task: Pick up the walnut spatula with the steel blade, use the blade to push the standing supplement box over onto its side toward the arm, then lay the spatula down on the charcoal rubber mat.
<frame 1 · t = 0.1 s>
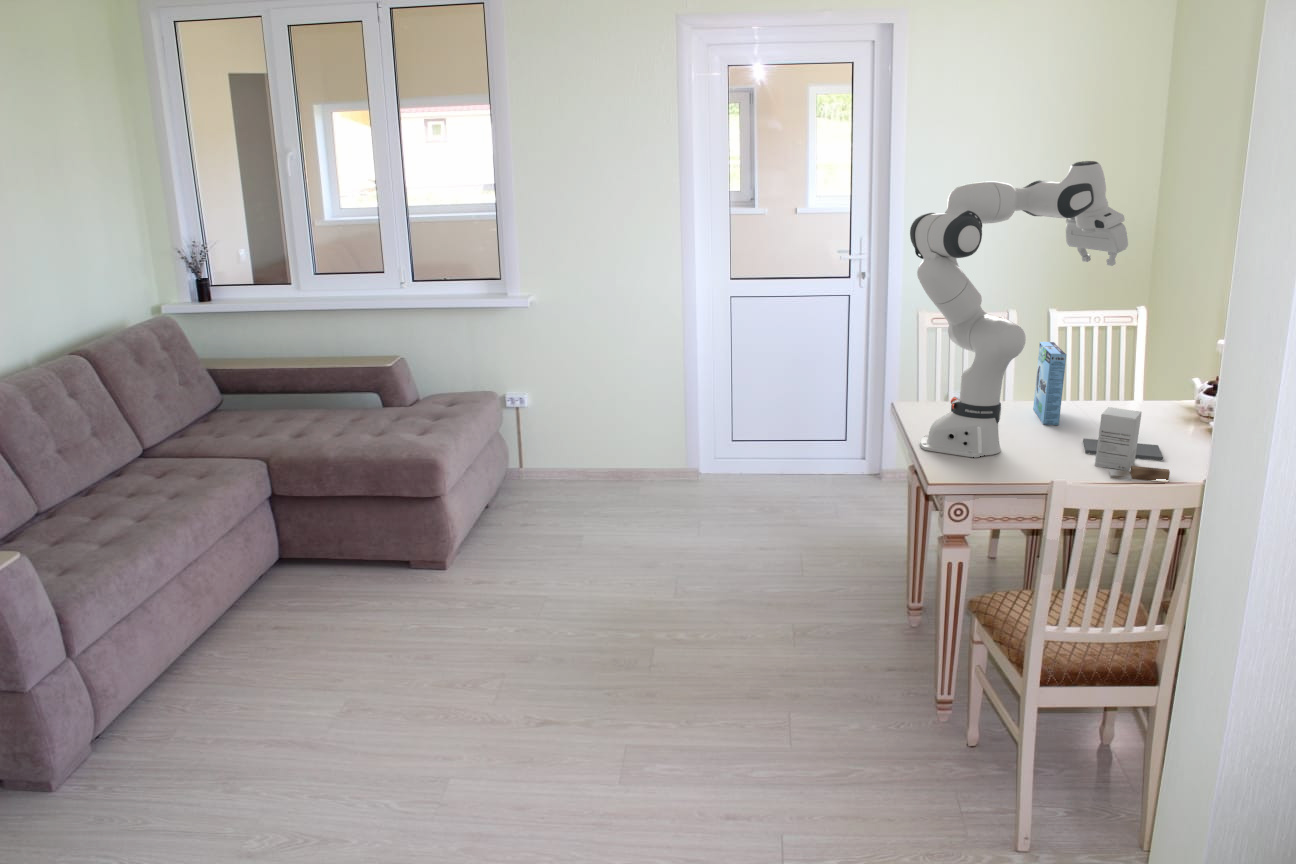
hand: (1098, 263, 285), 52 cm above the table, tool tilted 20°, fingers open, 8 cm apart
gum box: (1045, 417, 320), on the table
tool mat: (1121, 450, 286), on the table
supplement box: (1114, 465, 274), on the table
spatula: (1138, 478, 263), on the table
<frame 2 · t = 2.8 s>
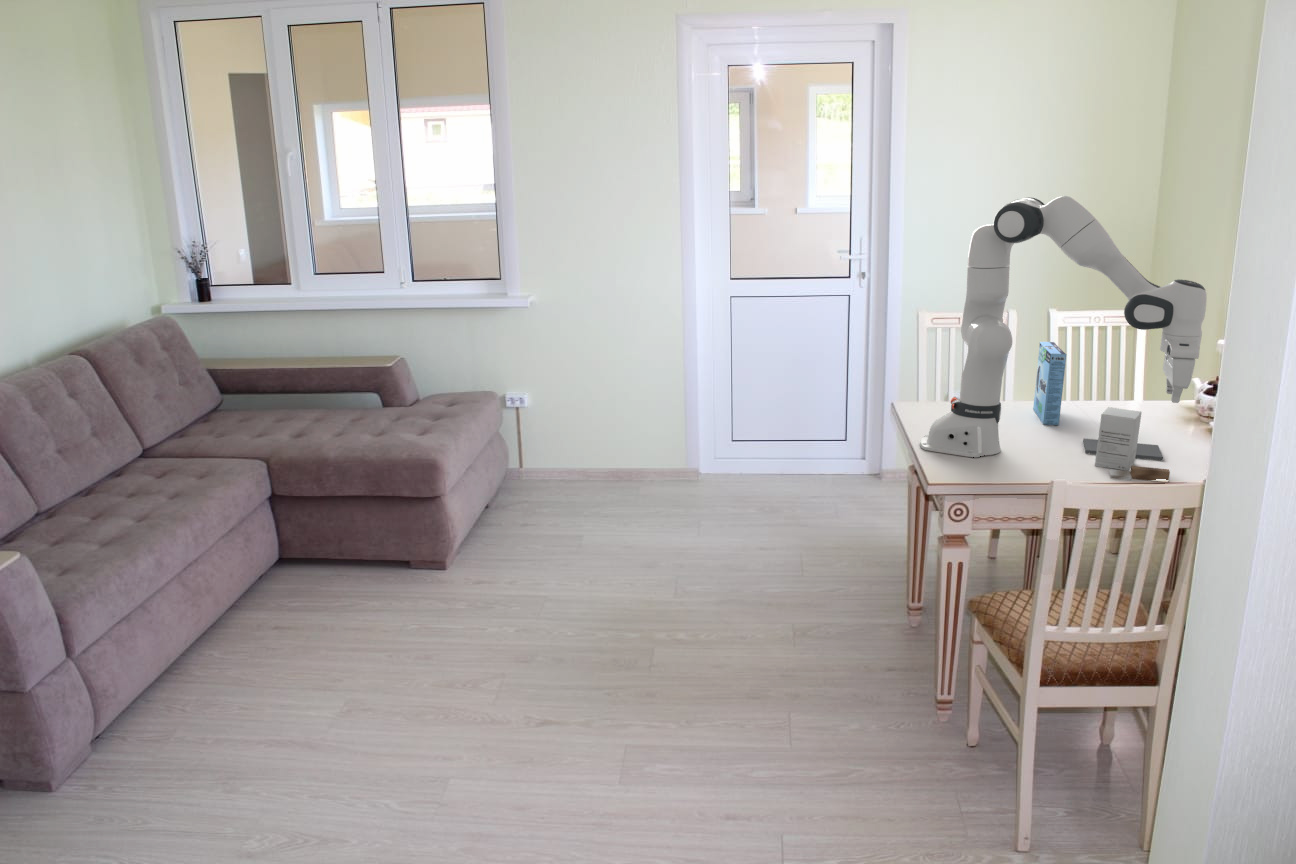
hand: (1172, 397, 255), 22 cm above the table, tool pointing down, fingers open, 8 cm apart
nothing on the table moved.
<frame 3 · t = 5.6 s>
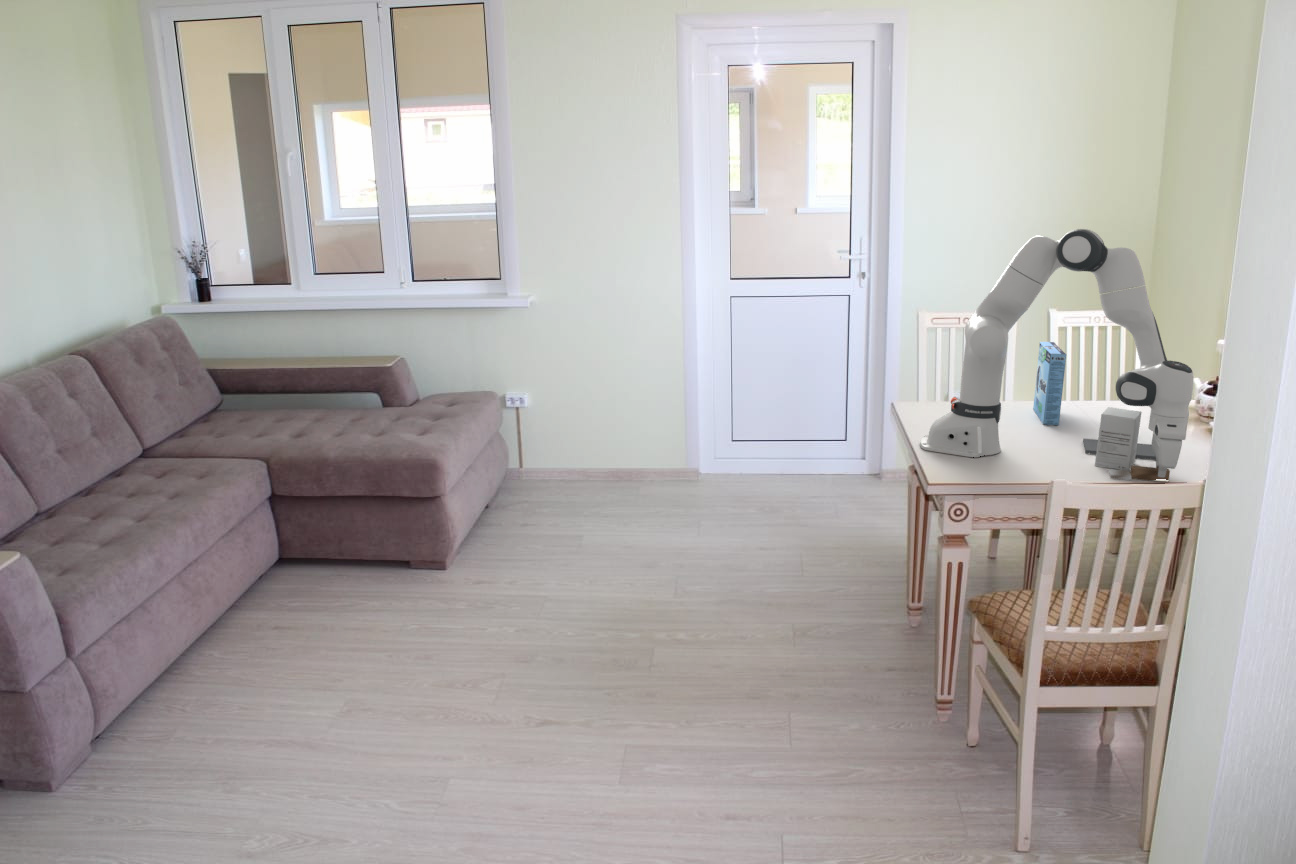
hand: (1160, 474, 261), 2 cm above the table, tool pointing down, fingers closed on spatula, 2 cm apart
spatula: (1138, 478, 263), on the table, touching gripper
everything else where it was.
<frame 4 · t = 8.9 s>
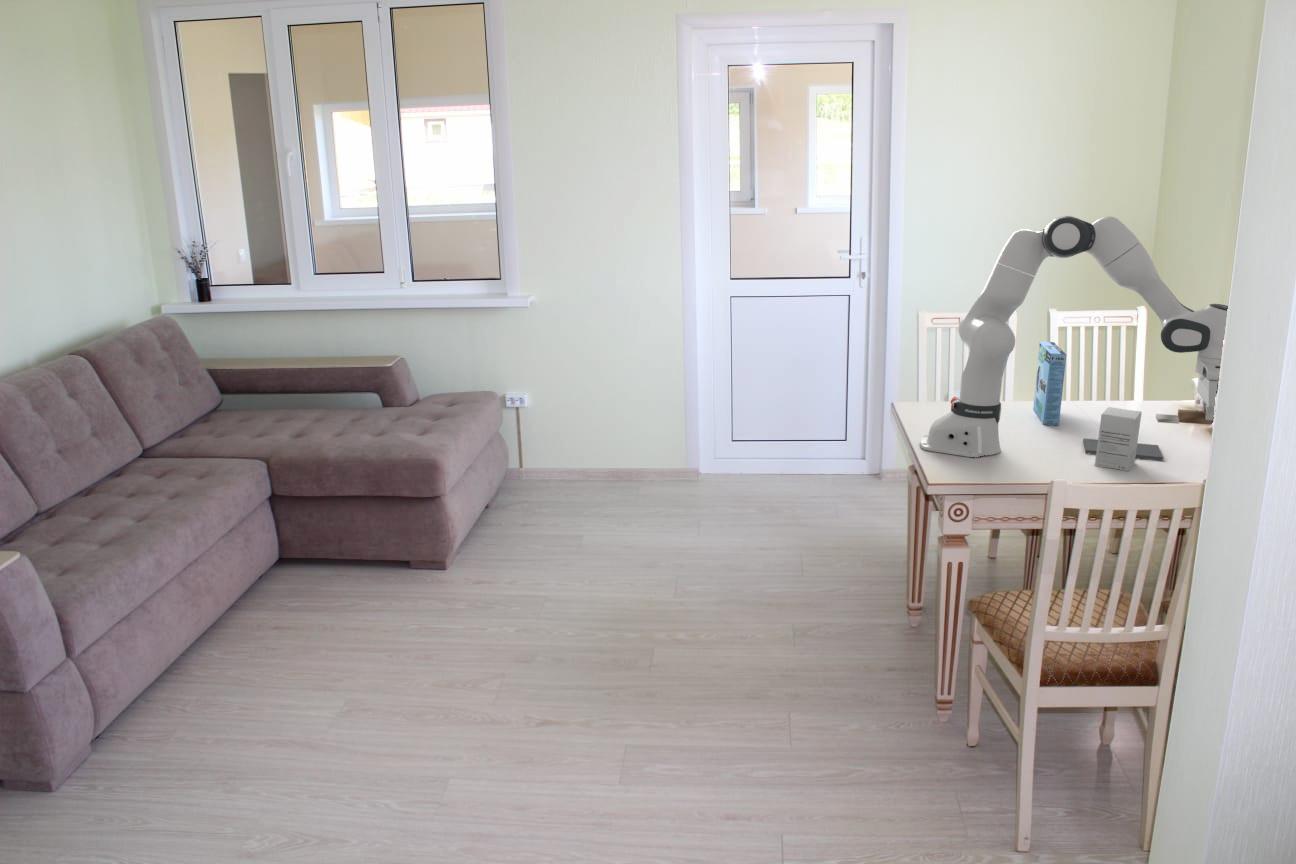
hand: (1207, 417, 263), 15 cm above the table, tool pointing down, fingers closed on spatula, 2 cm apart
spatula: (1185, 421, 265), point 14 cm above the table, touching gripper
everything else where it was.
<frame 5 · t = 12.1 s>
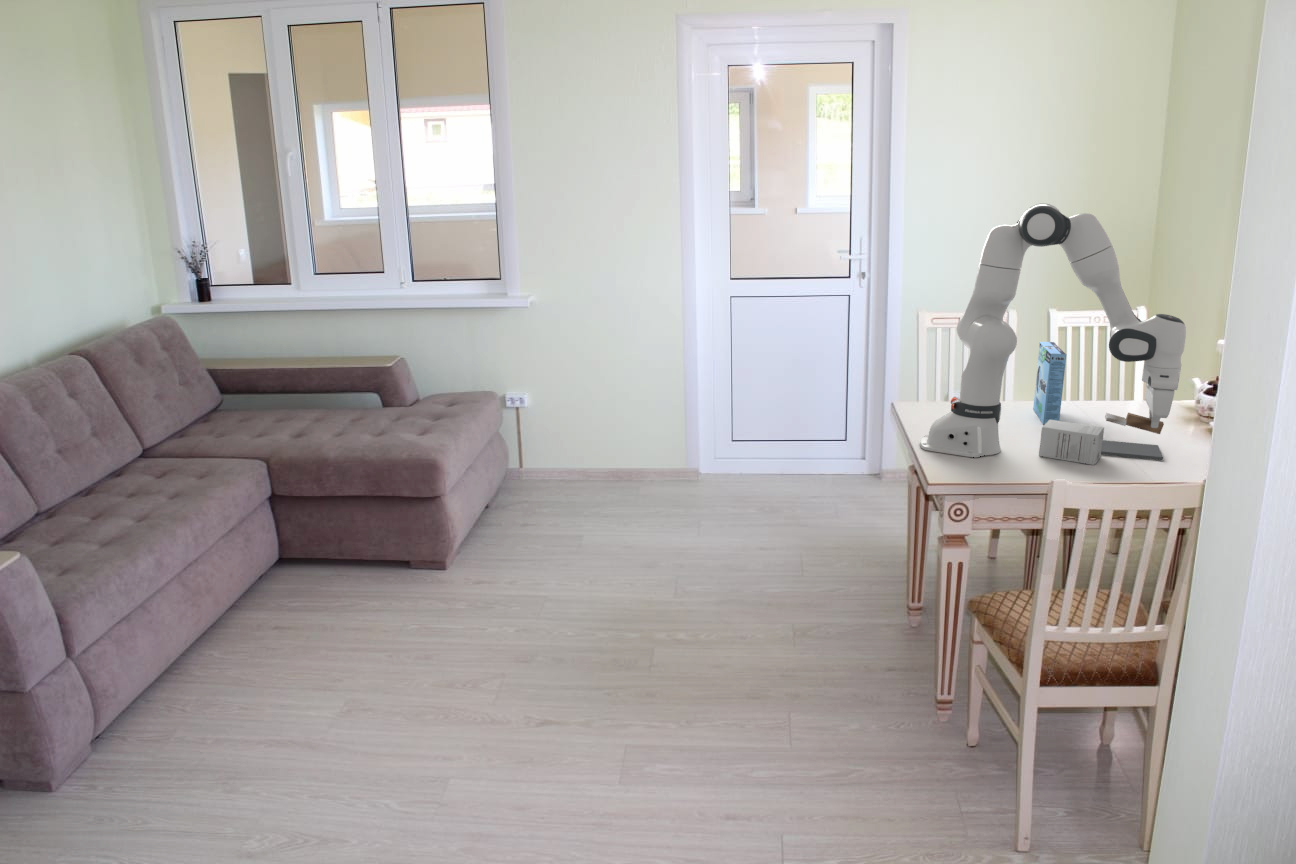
hand: (1153, 425, 268), 12 cm above the table, tool pointing down, fingers closed on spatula, 2 cm apart
supplement box: (1100, 446, 275), point 4 cm above the table
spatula: (1132, 425, 270), point 11 cm above the table, tilted 12°, touching gripper
everything else where it was.
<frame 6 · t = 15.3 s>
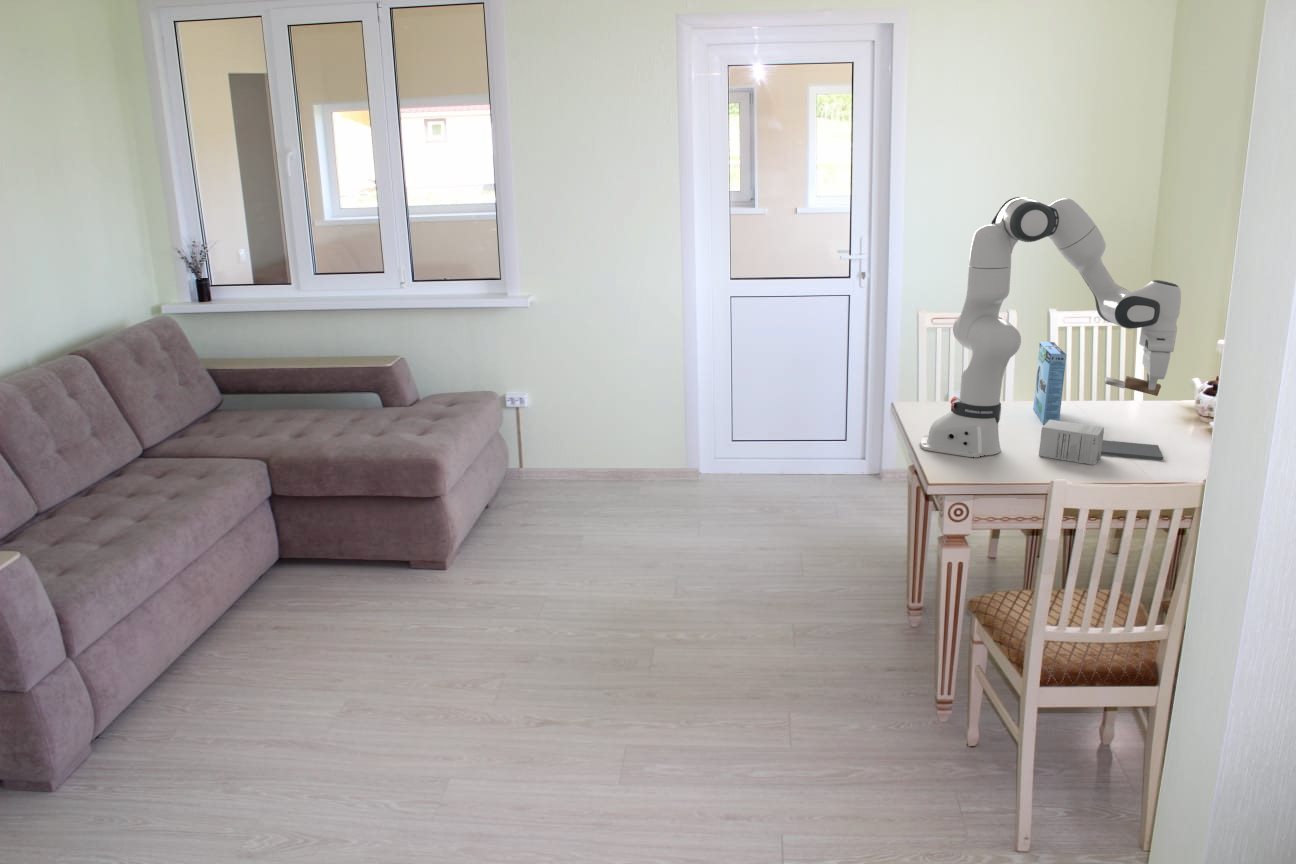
hand: (1150, 387, 279), 19 cm above the table, tool pointing down, fingers closed on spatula, 2 cm apart
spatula: (1130, 388, 281), point 19 cm above the table, tilted 11°, touching gripper
everything else where it was.
when the fingers open (4 cm above the table, at t = 18.1 s): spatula drops 2 cm, resting on tool mat.
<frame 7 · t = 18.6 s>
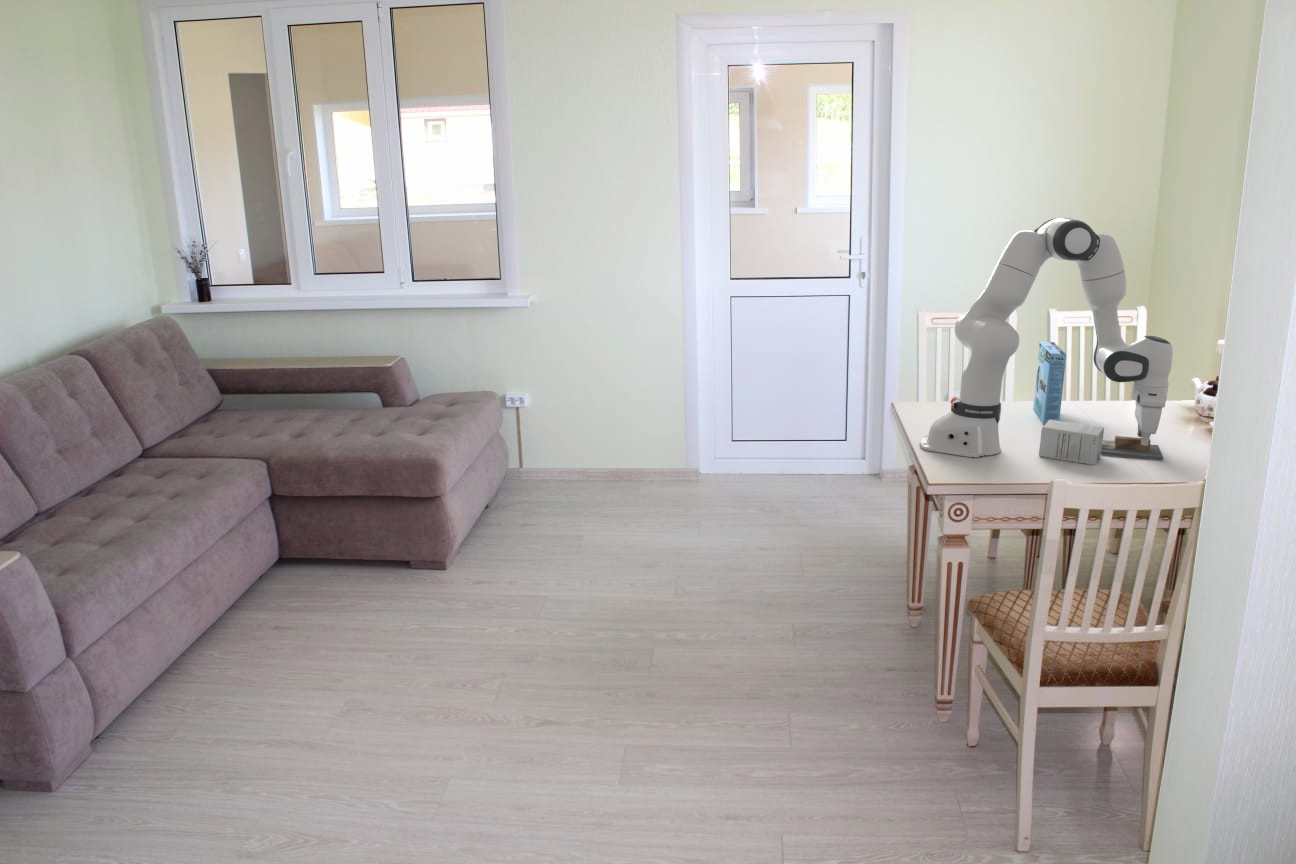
hand: (1142, 440, 283), 4 cm above the table, tool pointing down, fingers open, 7 cm apart
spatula: (1121, 447, 286), point 1 cm above the table, touching tool mat
everything else where it was.
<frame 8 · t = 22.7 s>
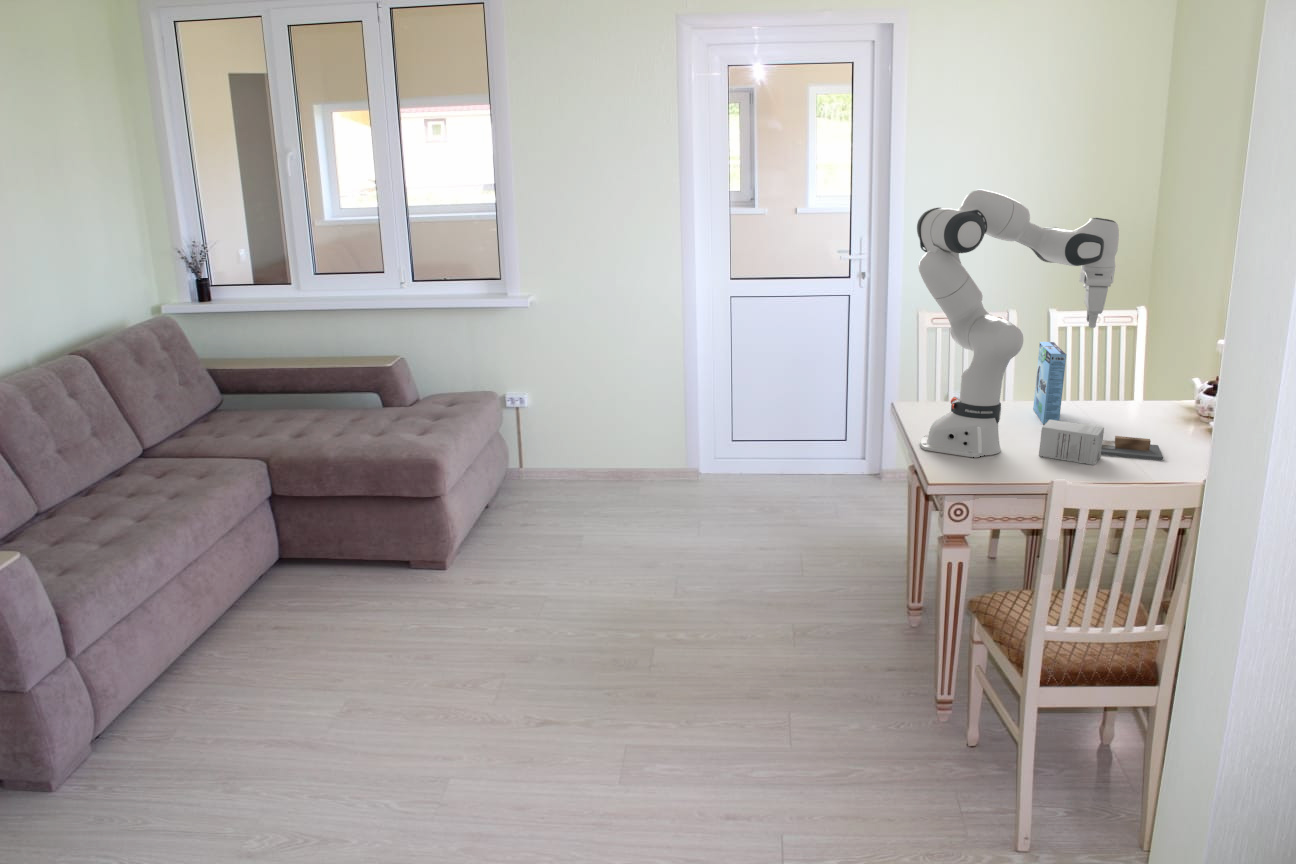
hand: (1090, 324, 285), 35 cm above the table, tool pointing down, fingers open, 8 cm apart
nothing on the table moved.
at the end: supplement box tilted 90°; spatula inside the target area on the tool mat (0.1 cm from its centre), point 1.0 cm above the tool mat's base; the gripper is holding nothing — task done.
